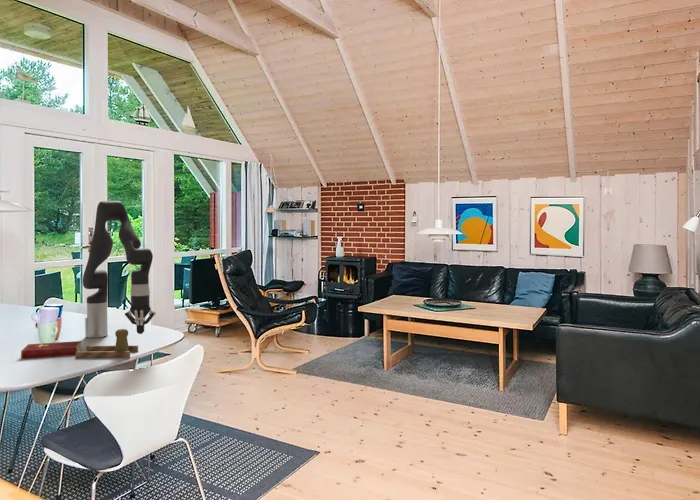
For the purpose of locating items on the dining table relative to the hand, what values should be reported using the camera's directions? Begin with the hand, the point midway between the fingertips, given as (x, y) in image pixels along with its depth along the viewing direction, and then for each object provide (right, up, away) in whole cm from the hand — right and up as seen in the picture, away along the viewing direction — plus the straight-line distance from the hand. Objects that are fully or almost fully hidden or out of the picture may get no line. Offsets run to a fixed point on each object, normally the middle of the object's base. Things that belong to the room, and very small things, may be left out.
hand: (140, 333), depth 221 cm
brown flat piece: (-14, -9, 0) cm, 17 cm away
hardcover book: (-38, -9, 0) cm, 40 cm away
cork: (-8, -9, 0) cm, 12 cm away
